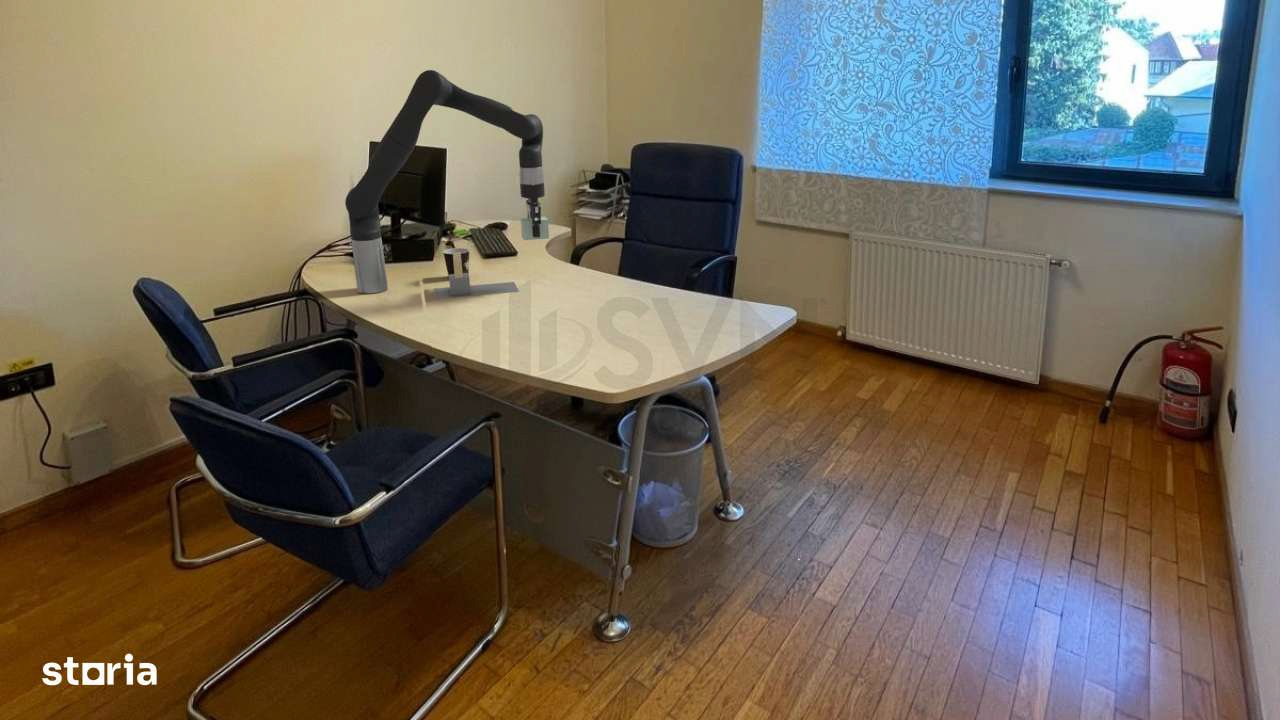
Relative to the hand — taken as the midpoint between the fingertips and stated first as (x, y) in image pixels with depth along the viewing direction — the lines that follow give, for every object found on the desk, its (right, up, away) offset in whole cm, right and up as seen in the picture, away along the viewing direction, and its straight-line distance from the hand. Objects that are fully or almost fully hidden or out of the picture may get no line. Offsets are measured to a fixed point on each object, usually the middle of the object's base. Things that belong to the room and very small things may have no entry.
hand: (535, 235), depth 256 cm
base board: (-19, -18, +1) cm, 27 cm away
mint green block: (0, -1, 0) cm, 1 cm away
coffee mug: (-27, -12, +18) cm, 35 cm away
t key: (-24, -13, -2) cm, 27 cm away
